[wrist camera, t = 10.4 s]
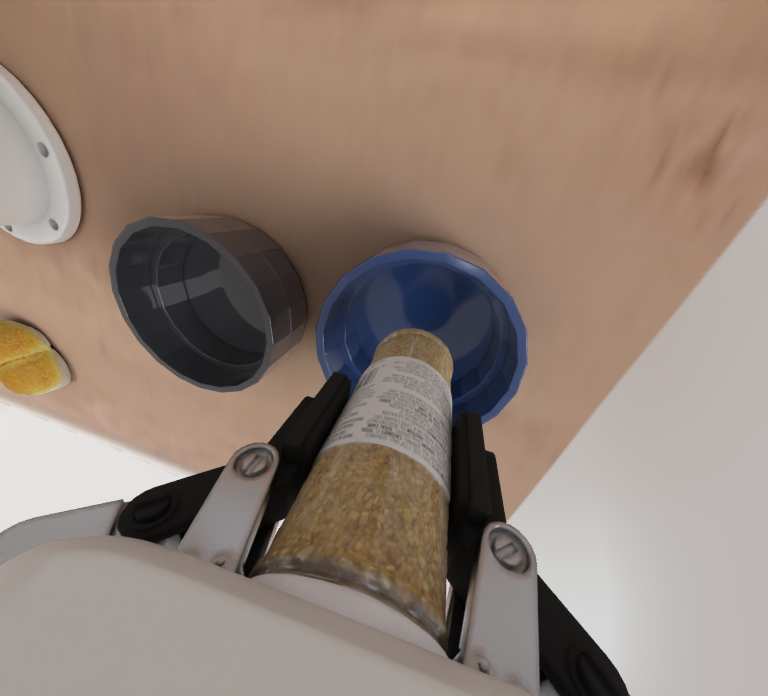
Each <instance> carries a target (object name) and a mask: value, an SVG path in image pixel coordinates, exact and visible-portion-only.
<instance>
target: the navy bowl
mask: <svg viewBox="0 0 768 696" xmlns="http://www.w3.org/2000/svg"><path fill="white" fill-rule="evenodd" d="M411 328H414V329H422V330H424V331H427V332H430V333H431V334H433V335H435V336H436V337H437V338H439V339H440V340H441V341H442V342H443V343H444V344H445V345H446V346H447V347H448V349H449V352H450V355H451V358H452V361H453V373H452V378H451V382H450V384H451V389H450V392H451V397H452V427H453V425H454V423H455V420H456V418H457V415H458V413H459V412H464V411H465V410H466V409H467V410H470V411H474V412H477V413H480V415H481V421H482V424H484V423H485V422H487V421H489V420H490V419H492V418H494V417H495V416H497V415H498V414H499V413H500V412H501V410H502V409H503V408H504V407H505V406H506V405H507V404H508V402H509V401H510V400H511V399H512V398H513V397H514V395H515V394H516V392H517V391H518V388H519V386H520V383H521V380H522V378H523V375H524V372H525V370H526V367H527V363H528V351H527V331H526V327H525V325H524V323H523V320H522V318H521V316H520V313H519V311H518V309H517V307H516V304H515V302H514V300H513V298H512V296H511V295H510V293H509V292H508V290H507V289H506V288H505V286H504V285H503V283H502V282H501V280H500V279H499V277H498V276H497V275H496V274H495V273H494V272H493V271H492V270H491V269H490V268H489V267H488V266H487V265H486V264H485V263H484V262H483V261H482V260H481V259H480V258H479V257H477V256H476V255H474V254H472V253H470V252H468V251H466V250H464V249H461V248H459V247H457V246H455V245H453V244H449V243H445V242H435V241H426V240H416V241H412V242H408V243H404V244H399V245H395V246H391V247H389V248H387V249H385V250H383V251H382V252H380V253H378V254H376V255H374V256H373V257H371V258H369V259H368V260H366V261H365V262H363V263H362V264H360V265H358V266H357V267H355V268H354V269H352V270H351V271H349V272H348V273H346V274H344V275H343V276H342V277H341V279H340V280H339V281H338V283H337V284H336V285H335V287H334V288H333V289H332V291H331V292H330V293H329V295H328V296H327V297H326V299H325V301H324V303H323V306H322V310H321V313H320V316H319V320H318V323H317V326H316V340H317V356H318V359H319V362H320V365H321V367H322V370H323V373H324V375H325V378H326V381H327V380H328V379H329V378H330V376H331V375H332V374H333V373H334V372H338V373H342V374H345V375H348V379H350V380H351V388H350V395H349V398H350V396H351V394H352V393H353V391H354V389H355V387H356V385H357V384H358V382H359V380H360V378H361V376H362V375H363V373H364V372H365V371H366V369H367V368H368V367H369V366H370V364H371V362H372V360H373V358H374V353H375V351H376V348H377V346H378V345H379V343H380V342H382V340H383V339H384V338H385V337H387V336H388V335H389V334H390V333H392V332H395V331H398V330H401V329H411Z"/></svg>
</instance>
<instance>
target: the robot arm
mask: <svg viewBox="0 0 768 696" xmlns="http://www.w3.org/2000/svg"><path fill="white" fill-rule="evenodd" d="M81 208H82V206H81V194H80V189H79V184H78V180H77V176H76V173H75V170H74V167H73V164H72V162H71V159H70V156H69V154H68V152H67V150H66V148H65V146H64V144H63V142H62V140H61V138H60V136H59V134H58V132H57V131H56V129H55V127H54V126H53V124H52V122H51V121H50V119H49V117H48V116H47V115H46V113H45V112H44V111H43V109H42V108H41V107H40V105H39V104H38V102H37V101H36V100H35V98H34V97H33V96H32V95H31V94H30V93H29V92H28V91H27V89H26V88H25V87H24V86H23V85H22V84H21V83H20V82H19V81H18V80H17V78H15V77H14V76H13V75H12V74H11V73H10V72H9V71H7V70H6V69H5V68H4V67H3V66H2V65H1V64H0V228H1V229H3V230H5V231H6V232H8V233H9V234H11V235H13V236H15V237H17V238H19V239H21V240H24V241H26V242H30V243H34V244H55V243H61V242H64V241H66V240H68V239H70V238H71V237H72V236H73V234H74V233H75V232H76V230H77V228H78V225H79V222H80V218H81ZM350 388H351V380H350V379H348V375H345V374H342V373H338V372H334V373H333V374H332V375H331V376H330V378H329V379H328V380H327V382H326V383H325V384H324V386H323V387H322V388H321V390H320V391H319V392H318V394H317V395H316V396H315V398H312V397H308V396H307V397H305V398H304V399H303V400H302V402H301V403H300V404H299V405H298V407H297V408H296V409H295V410H294V411H293V413H292V414H291V415H290V416H289V418H288V419H287V420H286V421H285V423H284V424H283V425H282V426H281V428H280V429H279V430H278V431H277V433H276V434H275V435H274V436H273V438H272V439H271V440H270V441H269V442H268V444H266V443H253V444H248V445H246V446H244V447H242V448H240V449H239V450H238V451H236V452H235V453H234V454H233V456H232V457H231V458H230V460H229V461H228V463H227V465H225V466H222V467H219V468H215V469H212V470H209V471H206V472H202V473H199V474H196V475H193V476H189V477H186V478H183V479H180V480H177V481H173V482H170V483H167V484H164V485H160V486H157V487H154V488H152V489H150V490H147V491H145V492H143V493H142V494H140V495H139V496H137V497H135V498H134V499H133V500H132V501H130V502H126V503H124V501H123V499H122V500H117V501H112V502H107V503H103V504H98V505H93V506H88V507H83V508H78V509H74V510H69V511H64V512H59V513H54V514H50V515H45V516H40V517H35V518H32V519H29V520H25V521H23V522H19V523H18V524H15V525H13V526H12V527H10V528H8V529H6V530H4V531H3V532H1V533H0V696H630V695H629V694H628V691H627V688H626V685H625V683H624V682H623V680H622V678H621V676H620V674H619V672H618V671H617V669H616V668H615V666H614V665H613V664H612V662H611V661H610V659H609V658H608V657H607V656H606V654H605V653H604V652H603V651H602V650H601V649H600V647H599V646H598V645H597V644H596V643H595V641H594V640H593V639H592V638H591V637H590V635H589V634H588V633H587V632H586V631H585V630H584V628H583V627H582V626H581V625H580V624H579V623H578V621H577V620H576V619H575V618H574V617H573V616H572V614H571V613H570V612H569V611H568V609H567V608H566V607H565V606H564V605H563V604H562V602H561V601H560V600H559V599H558V598H557V596H556V595H555V594H554V593H553V592H552V591H551V589H550V588H549V587H548V586H547V585H546V584H545V582H544V581H543V580H542V579H541V578H540V576H539V575H538V574H537V562H536V556H535V554H534V551H533V549H532V547H531V545H530V543H529V542H528V541H527V539H526V538H525V537H524V536H523V535H522V534H521V533H520V532H519V531H518V530H517V529H515V528H514V527H512V526H511V525H509V524H506V518H505V512H504V506H503V500H502V494H501V488H500V482H499V476H498V470H497V463H496V458H495V455H494V453H492V452H489V451H486V450H485V445H484V437H483V429H482V421H481V415H480V413H477V412H474V411H470V410H467V409H466V410H465V411H464V412H459V413H458V415H457V418H456V420H455V423H454V425H453V427H452V455H451V493H450V503H449V520H448V531H447V538H448V539H447V547H446V549H447V574H446V578H447V580H448V581H449V583H450V587H449V592H448V597H447V601H446V619H445V622H446V629H447V633H448V636H449V637H448V639H447V643H448V645H447V653H446V655H447V656H448V658H449V659H448V658H446V657H444V656H441V655H439V654H436V653H434V652H431V651H429V650H426V649H424V648H422V647H419V646H417V645H414V644H412V643H409V642H407V641H404V640H402V639H399V638H397V637H395V636H392V635H390V634H387V633H385V632H382V631H380V630H377V629H375V628H372V627H370V626H367V625H365V624H362V623H360V622H357V621H355V620H352V619H350V618H347V617H345V616H342V615H340V614H337V613H335V612H332V611H330V610H327V609H325V608H323V607H320V606H318V605H315V604H313V603H310V602H308V601H305V600H303V599H300V598H298V597H295V596H293V595H290V594H288V593H285V592H282V591H280V590H277V589H275V588H272V587H270V586H267V585H265V584H262V583H260V582H257V581H255V580H252V579H250V578H249V574H250V573H251V571H252V569H253V568H254V566H255V565H256V563H257V562H258V561H260V560H261V559H262V558H263V557H264V556H265V555H266V553H267V552H268V550H269V548H270V546H271V543H272V541H273V539H274V535H275V532H276V529H277V526H278V523H279V521H280V520H283V519H285V518H286V516H287V514H288V512H289V511H290V509H291V507H292V505H293V503H294V502H295V500H296V498H297V496H298V493H299V491H300V489H301V488H302V486H303V484H304V482H305V481H306V479H307V477H308V475H309V473H310V471H311V469H312V465H313V463H314V461H315V458H316V457H317V455H318V453H319V451H320V449H321V448H322V446H323V444H324V442H325V441H326V439H327V437H328V435H329V433H330V432H331V430H332V428H333V426H334V425H335V423H336V421H337V419H338V417H339V416H340V414H341V412H342V410H343V408H344V407H345V405H346V403H347V401H348V400H349V395H350Z"/></svg>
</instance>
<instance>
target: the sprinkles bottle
mask: <svg viewBox="0 0 768 696" xmlns="http://www.w3.org/2000/svg"><path fill="white" fill-rule="evenodd" d="M452 373H453V361H452V358H451V355H450V352H449V349H448V347H447V346H446V345H445V344H444V343H443V342H442V341H441V340H440V339H439V338H437V337H436V336H435V335H433V334H431V333H430V332H427V331H424V330H422V329H414V328H411V329H401V330H398V331H395V332H392V333H390V334H389V335H388V336H387V337H385V338H384V339H383V340H382V342H380V343H379V345H378V346H377V348H376V351H375V353H374V358H373V360H372V362H371V364H370V366H369V367H368V368H367V369H366V371H365V372H364V373H363V375H362V376H361V378H360V380H359V382H358V384H357V385H356V387H355V389H354V391H353V393H352V394H351V396H350V398H349V400H348V401H347V403H346V405H345V407H344V408H343V410H342V412H341V414H340V416H339V417H338V419H337V421H336V423H335V425H334V426H333V428H332V430H331V432H330V433H329V435H328V437H327V439H326V441H325V442H324V444H323V446H322V448H321V449H320V451H319V453H318V455H317V457H316V458H315V461H314V463H313V465H312V469H311V471H310V473H309V475H308V477H307V479H306V481H305V482H304V484H303V486H302V488H301V489H300V491H299V493H298V496H297V498H296V500H295V502H294V503H293V505H292V507H291V509H290V511H289V512H288V514H287V516H286V518H285V520H284V522H283V524H282V525H281V527H280V528H279V530H278V531H277V533H276V535H275V537H274V539H273V541H272V543H271V546H270V548H269V550H268V552H267V553H266V555H265V556H264V557H263V558H262V559H261V560H260V561H258V562H257V563H256V565H255V566H254V568H253V569H252V571H251V573H250V574H249V578H250V579H252V580H255V581H257V582H260V583H262V584H265V585H267V586H270V587H272V588H275V589H277V590H280V591H282V592H285V593H288V594H290V595H293V596H295V597H298V598H300V599H303V600H305V601H308V602H310V603H313V604H315V605H318V606H320V607H323V608H325V609H327V610H330V611H332V612H335V613H337V614H340V615H342V616H345V617H347V618H350V619H352V620H355V621H357V622H360V623H362V624H365V625H367V626H370V627H372V628H375V629H377V630H380V631H382V632H385V633H387V634H390V635H392V636H395V637H397V638H399V639H402V640H404V641H407V642H409V643H412V644H414V645H417V646H419V647H422V648H424V649H426V650H429V651H431V652H434V653H436V654H439V655H441V656H444V657H446V658H448V656H447V655H446V653H447V645H448V643H447V639H448V637H449V636H448V633H447V629H446V622H445V619H446V574H447V549H446V547H447V539H448V538H447V531H448V520H449V503H450V493H451V455H452V397H451V392H450V389H451V384H450V382H451V378H452ZM448 659H449V658H448Z"/></svg>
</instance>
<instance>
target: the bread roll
mask: <svg viewBox="0 0 768 696" xmlns="http://www.w3.org/2000/svg"><path fill="white" fill-rule="evenodd" d="M50 346H51V344H50V343H49V341H48V340H47V338H46V337H45V336H44V335H43V334H42V333H41V332H40V331H38V330H36V329H35V328H33V327H30V326H27V325H24V324H21V323H18V322H15V321H12V320H0V380H1V382H2V383H3V384H4V385H5V386H6V387H7V388H8V389H10V390H11V391H13V392H15V393H18V394H27V395H30V394H35V395H39V394H43V393H47V392H50V391H54V390H57V389H59V388H62V387H64V386H66V385H68V384H69V383H70V382H71V374H70V370H69V368H68V366H67V364H66V362H65V361H64V360H63V358H62V357H61V356H60V355H59V354H58V353H57V352H56V351H55V350H53V349H52V348H51V347H50Z"/></svg>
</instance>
